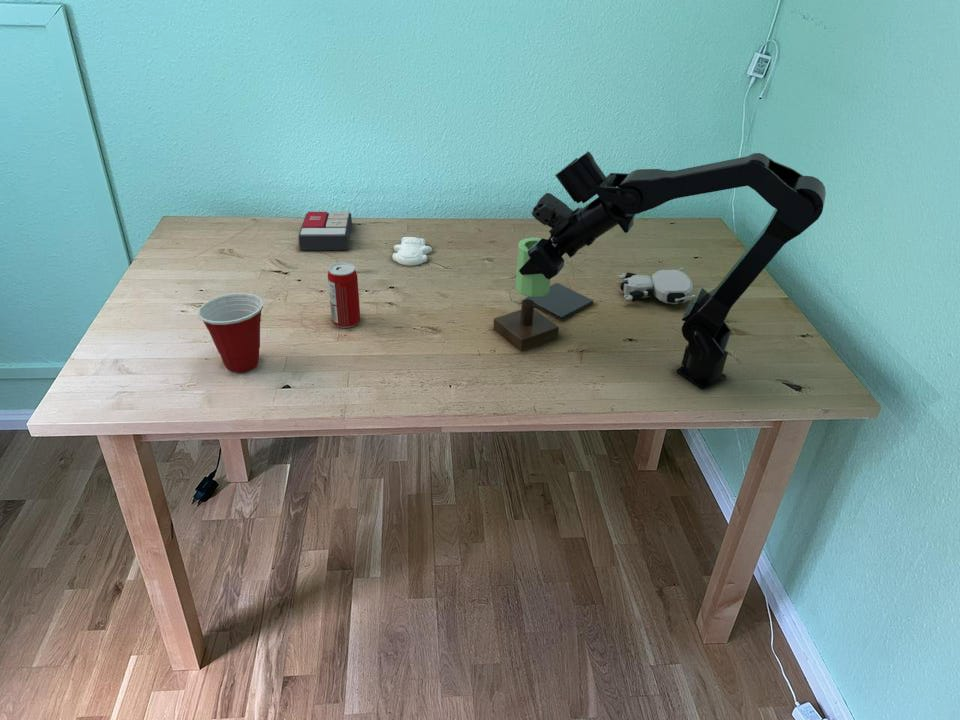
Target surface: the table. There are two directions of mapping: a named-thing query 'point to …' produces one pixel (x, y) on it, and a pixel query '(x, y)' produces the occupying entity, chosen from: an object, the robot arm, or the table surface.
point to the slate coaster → (561, 302)
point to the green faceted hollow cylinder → (534, 282)
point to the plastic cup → (234, 328)
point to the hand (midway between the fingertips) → (527, 265)
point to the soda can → (344, 295)
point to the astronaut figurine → (411, 251)
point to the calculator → (325, 231)
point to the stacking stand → (526, 327)
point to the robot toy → (658, 286)
